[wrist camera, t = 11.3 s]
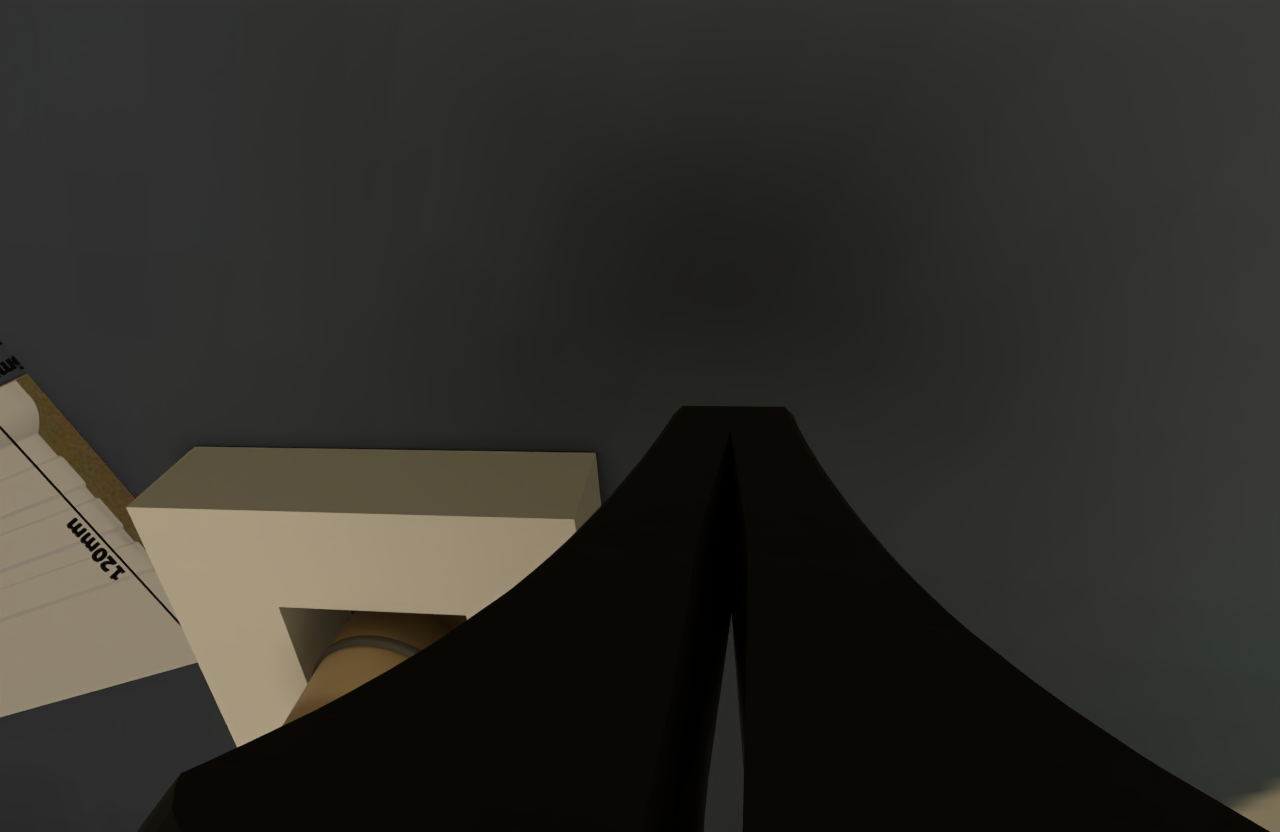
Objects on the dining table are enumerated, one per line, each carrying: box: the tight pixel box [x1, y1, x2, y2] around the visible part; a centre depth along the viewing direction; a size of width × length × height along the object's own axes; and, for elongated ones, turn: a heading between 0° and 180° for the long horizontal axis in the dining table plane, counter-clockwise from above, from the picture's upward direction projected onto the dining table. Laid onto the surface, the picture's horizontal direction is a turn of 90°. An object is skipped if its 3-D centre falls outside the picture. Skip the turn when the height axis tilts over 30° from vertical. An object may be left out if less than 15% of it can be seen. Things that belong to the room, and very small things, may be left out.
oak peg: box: [282, 611, 467, 726], centre depth 22 cm, size 4×4×9 cm
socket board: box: [126, 447, 601, 747], centre depth 24 cm, size 12×12×3 cm
